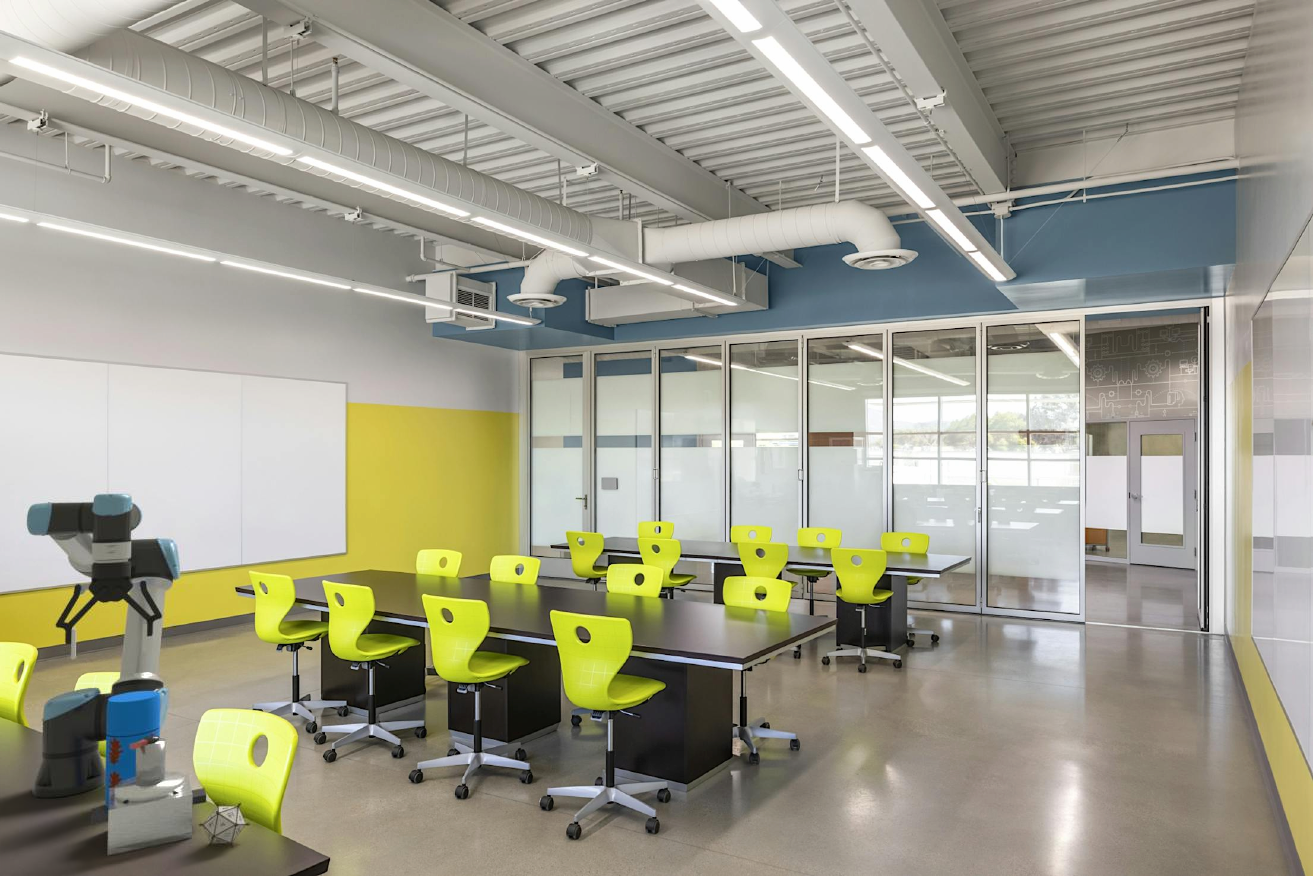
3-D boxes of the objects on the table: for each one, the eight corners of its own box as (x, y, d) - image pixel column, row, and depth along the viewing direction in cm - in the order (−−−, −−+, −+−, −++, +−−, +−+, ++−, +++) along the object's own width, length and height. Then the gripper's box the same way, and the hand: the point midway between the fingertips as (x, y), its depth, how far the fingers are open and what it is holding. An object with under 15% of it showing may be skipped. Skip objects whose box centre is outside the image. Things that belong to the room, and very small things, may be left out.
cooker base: (92, 833, 180) (92, 791, 181) (202, 811, 192) (202, 771, 192) (89, 859, 168) (90, 813, 168) (207, 834, 179) (208, 791, 180)
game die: (223, 866, 172) (206, 839, 166) (201, 843, 176) (185, 816, 171) (262, 832, 178) (248, 805, 172) (240, 811, 182) (226, 783, 177)
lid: (148, 792, 188) (149, 727, 189) (198, 796, 185) (199, 729, 186) (98, 815, 175) (100, 745, 176) (151, 819, 172) (152, 748, 173)
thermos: (132, 813, 191) (134, 703, 192) (93, 810, 193) (95, 701, 194) (169, 796, 202) (171, 691, 203) (131, 793, 204) (133, 689, 205)
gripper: (42, 565, 181) (40, 664, 180) (175, 558, 195) (173, 650, 194) (45, 563, 187) (43, 658, 186) (173, 556, 201) (172, 645, 200)
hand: (109, 654), depth 190 cm, fingers open, 13 cm apart
